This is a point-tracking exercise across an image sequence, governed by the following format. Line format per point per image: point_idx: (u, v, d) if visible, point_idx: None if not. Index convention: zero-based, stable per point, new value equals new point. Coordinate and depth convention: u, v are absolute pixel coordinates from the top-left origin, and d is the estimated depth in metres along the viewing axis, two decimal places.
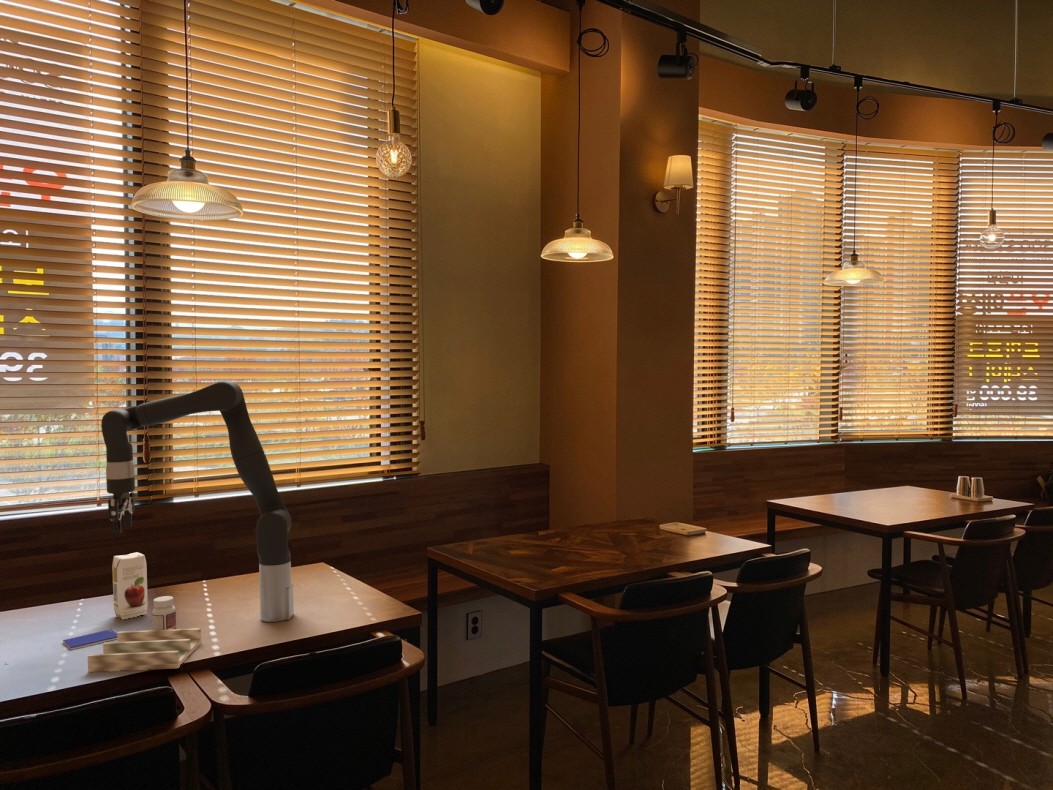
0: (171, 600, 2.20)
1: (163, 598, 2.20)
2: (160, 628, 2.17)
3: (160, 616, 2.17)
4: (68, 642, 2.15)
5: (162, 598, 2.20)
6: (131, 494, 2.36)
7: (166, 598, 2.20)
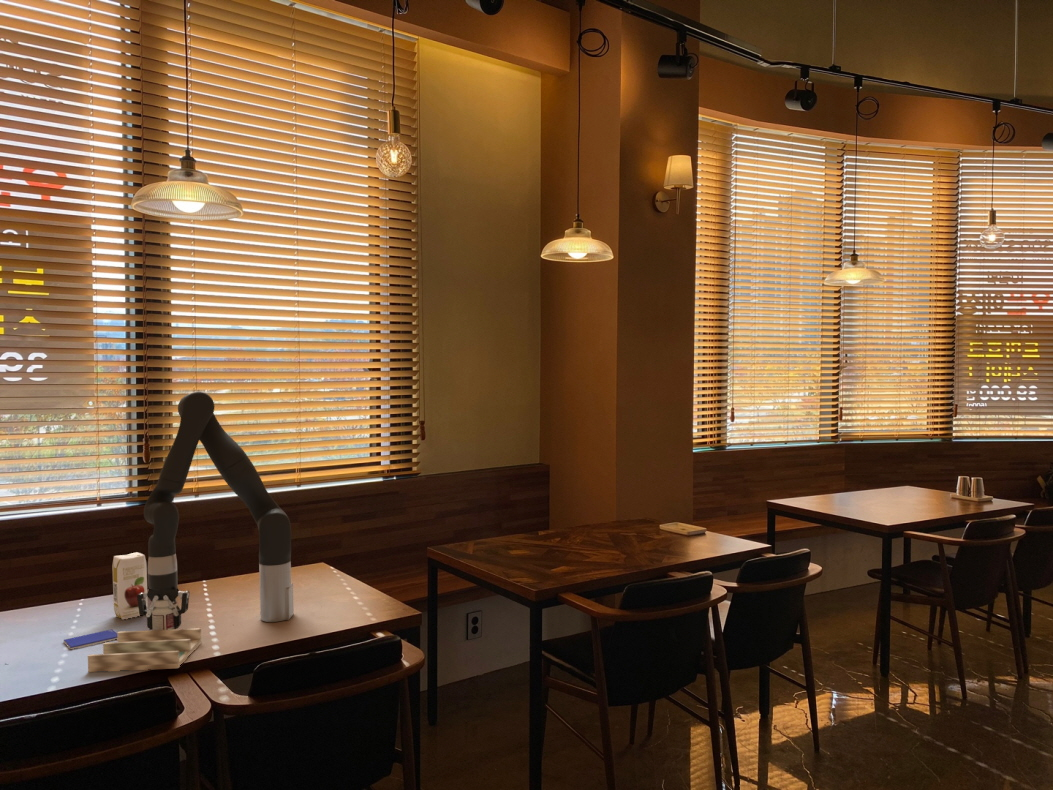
0: None
1: None
2: (160, 628, 2.17)
3: (160, 616, 2.17)
4: (68, 642, 2.15)
5: None
6: None
7: None
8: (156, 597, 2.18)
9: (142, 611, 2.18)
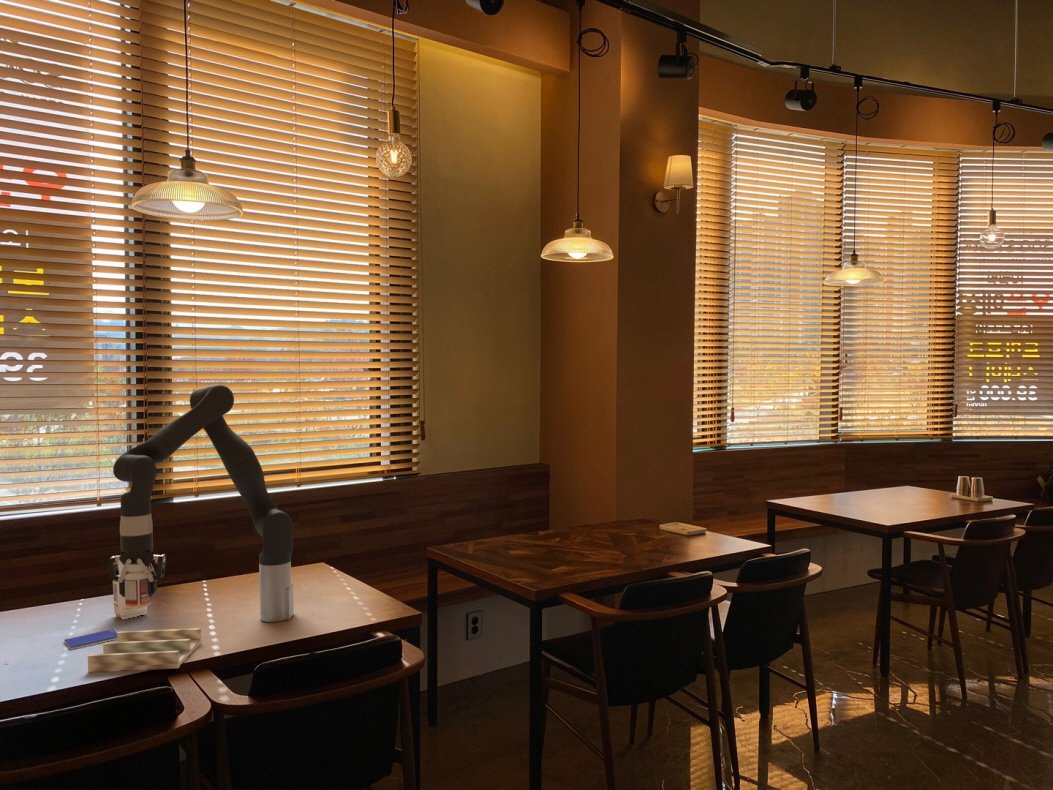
0: None
1: None
2: (132, 594, 1.98)
3: (133, 581, 1.98)
4: (69, 642, 2.15)
5: None
6: None
7: None
8: (129, 561, 1.99)
9: (114, 576, 1.99)
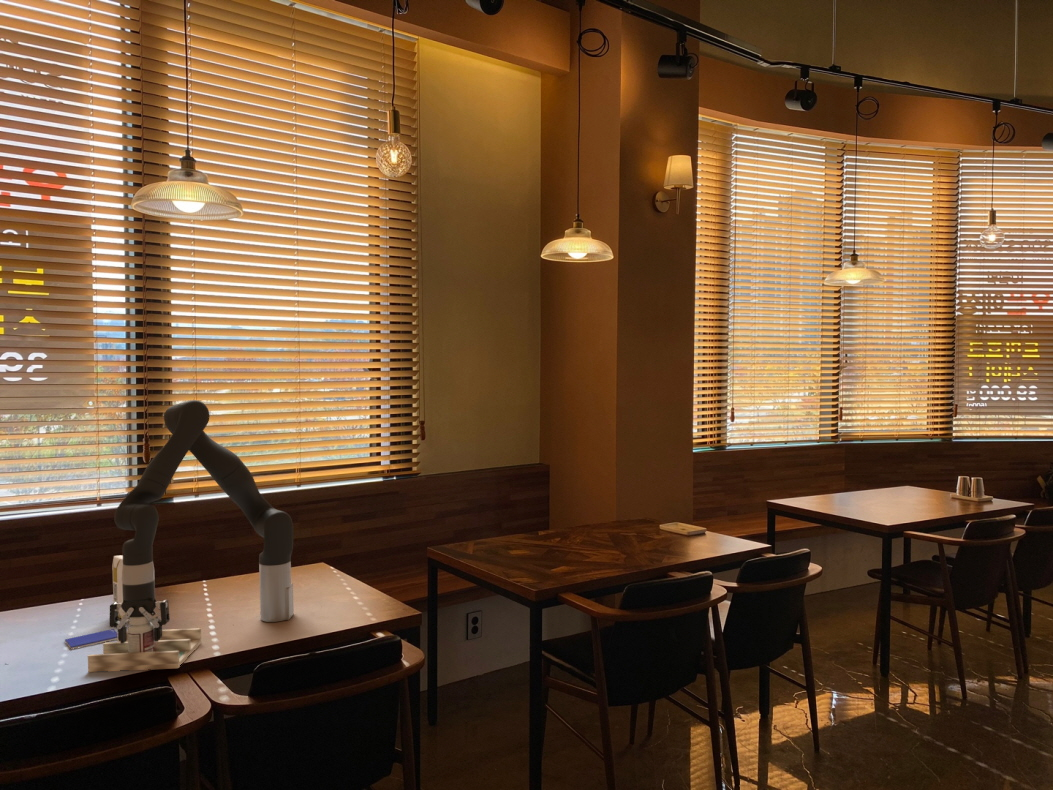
0: None
1: None
2: (136, 647, 1.98)
3: (136, 635, 1.98)
4: (69, 641, 2.15)
5: None
6: None
7: None
8: (131, 609, 1.99)
9: (113, 623, 1.99)
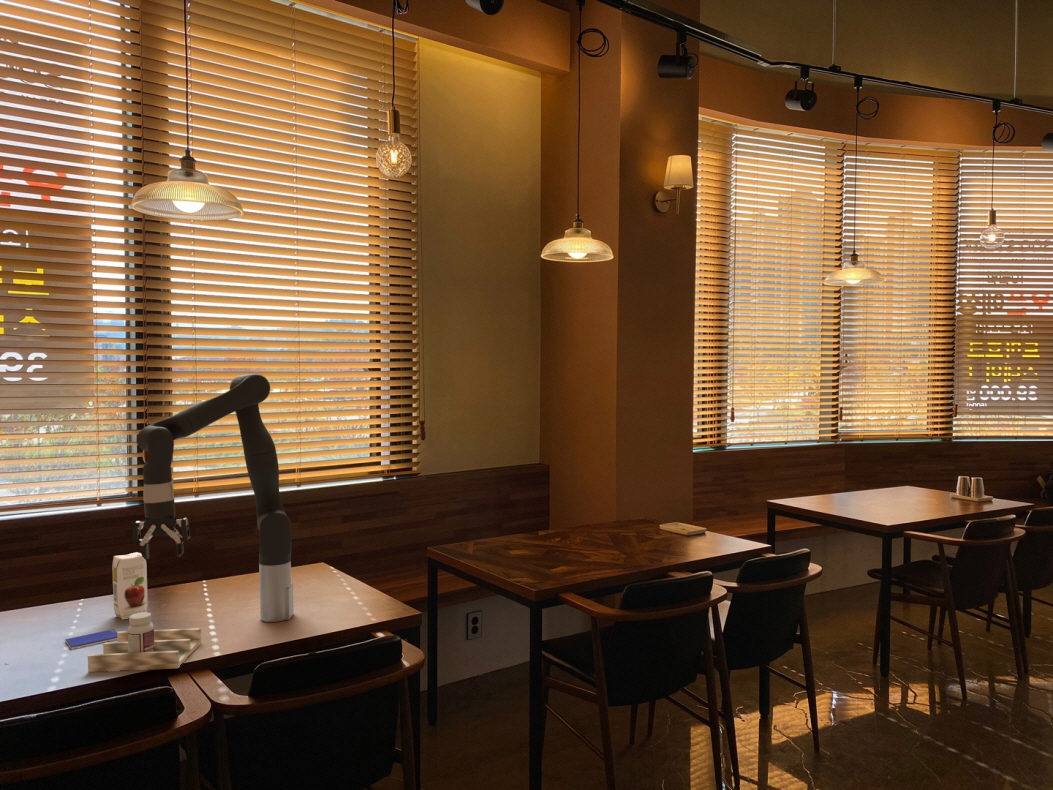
0: (149, 617, 2.00)
1: (139, 615, 2.01)
2: (136, 647, 1.98)
3: (136, 635, 1.98)
4: (70, 641, 2.15)
5: (139, 615, 2.01)
6: None
7: (143, 615, 2.01)
8: (153, 526, 2.10)
9: (136, 540, 2.10)
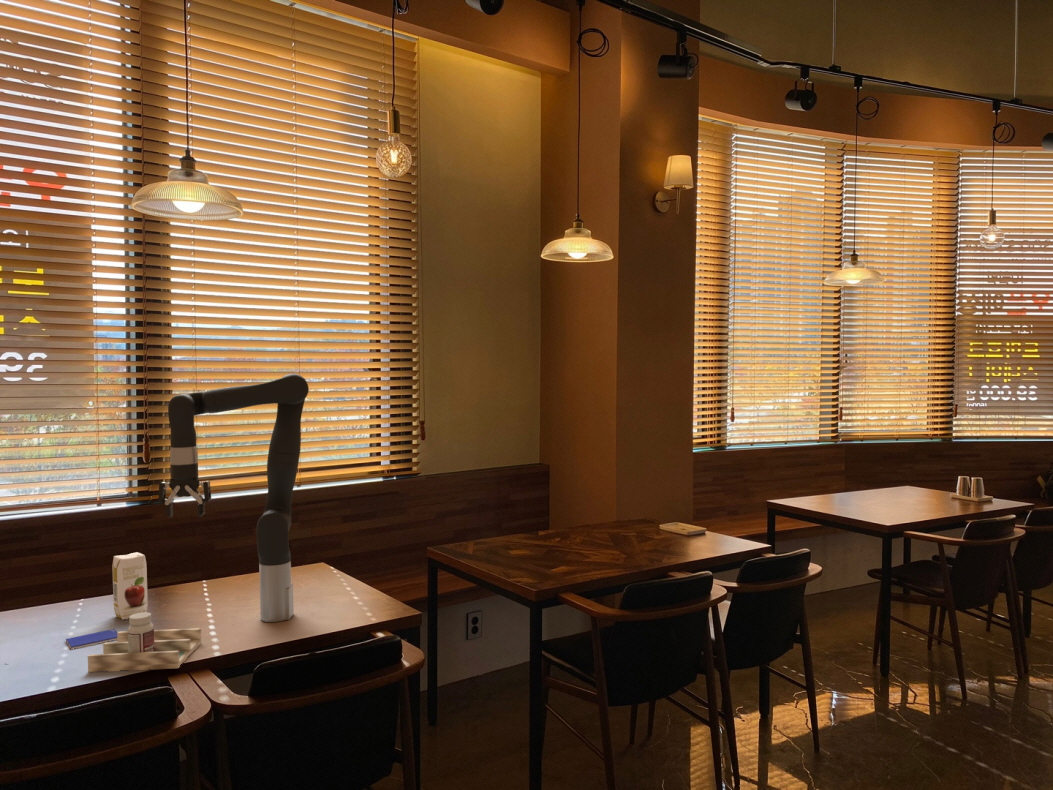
0: (149, 617, 2.00)
1: (139, 615, 2.01)
2: (136, 647, 1.98)
3: (136, 635, 1.98)
4: (70, 641, 2.15)
5: (139, 615, 2.01)
6: None
7: (143, 615, 2.01)
8: (178, 487, 2.25)
9: (161, 499, 2.26)
